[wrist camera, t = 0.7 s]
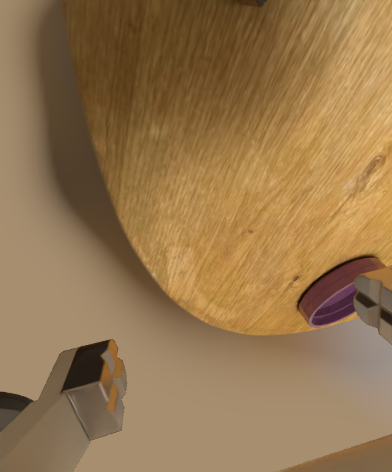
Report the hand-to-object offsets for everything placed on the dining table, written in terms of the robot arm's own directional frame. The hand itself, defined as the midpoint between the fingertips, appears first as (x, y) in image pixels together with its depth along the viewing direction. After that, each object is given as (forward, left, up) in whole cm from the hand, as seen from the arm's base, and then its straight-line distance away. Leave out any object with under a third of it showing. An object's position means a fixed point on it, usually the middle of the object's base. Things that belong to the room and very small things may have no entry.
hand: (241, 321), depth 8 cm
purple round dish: (-4, -37, -11) cm, 39 cm away
